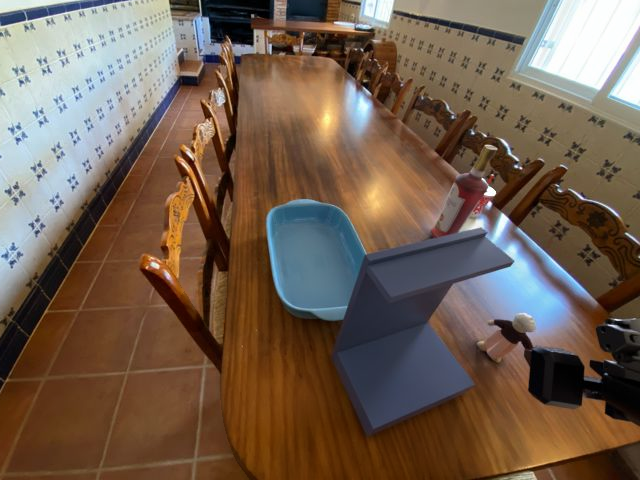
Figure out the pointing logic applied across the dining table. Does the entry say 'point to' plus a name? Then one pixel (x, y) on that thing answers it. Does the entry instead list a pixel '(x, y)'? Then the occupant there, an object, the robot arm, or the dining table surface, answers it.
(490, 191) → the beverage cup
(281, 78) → the dining table surface
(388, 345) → the stand
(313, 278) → the casserole dish
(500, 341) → the grandmother figurine
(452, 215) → the liquor
